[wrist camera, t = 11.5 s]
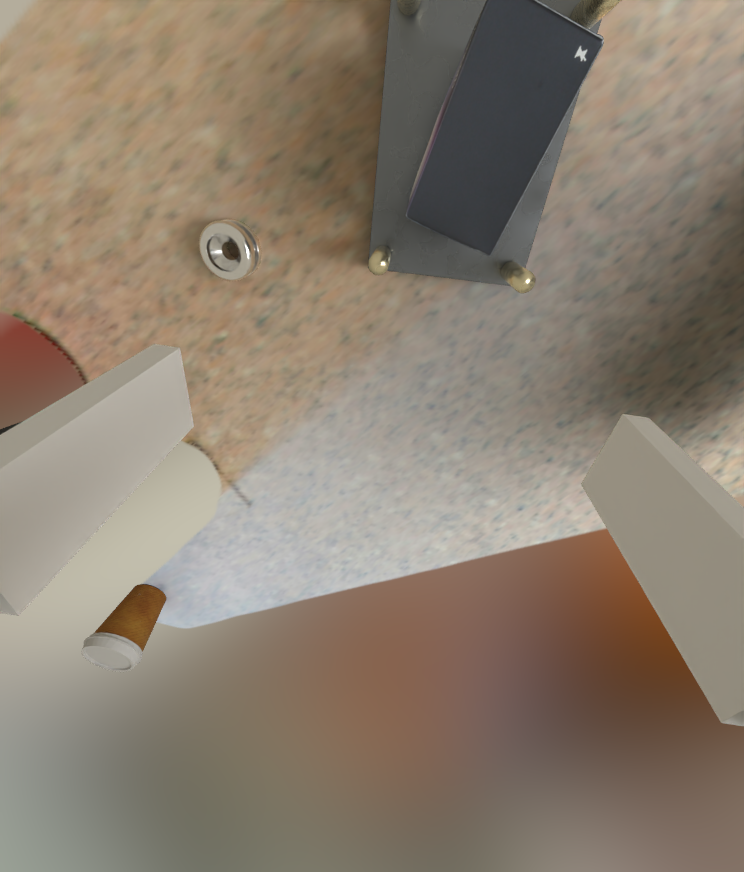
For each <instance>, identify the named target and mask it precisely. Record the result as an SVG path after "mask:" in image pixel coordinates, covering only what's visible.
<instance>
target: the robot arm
mask: <svg viewBox="0 0 744 872" xmlns="http://www.w3.org/2000/svg"><path fill="white" fill-rule="evenodd" d="M193 427H194V423H193V417H192V412H191V406H190V401H189V395H188V390H187V384H186V379H185V373H184V368H183V362H182V357H181V351H180V348H178V347H171V346H165V345H158V344H153V345H151V346H150V347H148V348H146V349H145V350H143V351H141V352H140V353H138V354H136V355H135V356H133V357H131V358H129V359H128V360H126V361H124V362H123V363H121V364H119V365H118V366H116V367H114V368H113V369H111V370H109V371H108V372H106V373H104V374H102V375H101V376H99V377H97V378H96V379H94V380H92V381H91V382H89V383H87V384H86V385H84V386H82V387H80V388H79V389H77V390H75V391H74V392H72V393H70V394H69V395H67V396H65V397H64V398H62V399H60V400H58V401H57V402H55V403H53V404H52V405H50V406H48V407H47V408H45V409H43V410H42V411H40V412H39V413H36V414H35V415H33V416H31V417H30V418H28V419H26V420H25V421H22V422H20V423H17V424H14V425H11V426H9V427H6V428H3V429H0V613H3V614H10V615H17V616H19V615H20V614H21V613H22V612H23V611H24V610H25V609H26V607H27V606H28V605H29V604H30V603H31V602H32V601H33V600H34V599H35V598H36V597H37V596H38V594H39V593H40V592H41V591H42V590H43V589H44V588H45V587H46V586H47V585H48V584H49V583H50V581H51V580H52V579H53V578H54V577H55V576H56V575H57V574H58V573H59V572H60V570H62V568H63V567H64V566H65V565H66V564H67V563H68V562H69V561H70V560H71V559H72V558H73V557H74V555H75V554H76V553H77V552H78V551H79V550H80V549H81V548H82V547H83V546H84V545H85V544H86V542H87V541H88V540H89V539H90V538H91V537H92V536H93V535H94V534H95V533H96V532H97V531H98V530H99V528H100V527H101V526H102V525H103V524H104V523H105V522H106V521H107V520H108V519H109V518H110V517H111V515H112V514H113V513H114V512H115V511H116V510H117V509H118V508H119V507H120V506H121V505H122V504H123V502H124V501H125V500H126V499H127V498H128V497H129V496H130V495H131V494H132V493H133V492H134V491H135V489H136V488H137V487H138V486H139V485H140V484H141V483H142V482H143V481H144V480H145V479H146V477H148V475H149V474H150V473H151V472H152V471H153V470H154V469H155V468H156V467H157V466H158V465H159V463H160V462H161V461H162V460H163V459H164V458H165V457H166V456H167V455H168V454H169V453H170V452H171V450H172V449H173V448H174V447H175V446H176V445H177V444H178V443H179V442H180V441H181V440H182V439H183V438H184V436H185V435H186V434H187V433H188V432H189V431H190V430H191V429H192V428H193ZM581 485H582V487H583V488H584V490H585V492H586V493H587V495H588V497H589V498H590V500H591V502H592V504H593V505H594V507H595V509H596V510H597V512H598V514H599V516H600V517H601V519H602V521H603V522H604V524H605V526H606V527H607V529H608V531H609V533H610V534H611V536H612V538H613V539H614V541H615V543H616V544H617V546H618V548H619V550H620V551H621V553H622V555H623V556H624V558H625V560H626V561H627V563H628V565H629V567H630V568H631V570H632V572H633V573H634V575H635V577H636V579H637V580H638V582H639V583H640V585H641V587H642V588H643V590H644V592H645V594H646V596H647V597H648V599H649V601H650V602H651V604H652V606H653V607H654V609H655V611H656V612H657V614H658V616H659V618H660V619H661V621H662V623H663V624H664V626H665V628H666V630H667V631H668V633H669V635H670V636H671V638H672V640H673V641H674V643H675V645H676V647H677V648H678V650H679V652H680V653H681V655H682V657H683V659H684V660H685V662H686V664H687V665H688V667H689V669H690V670H691V672H692V674H693V675H694V677H695V679H696V680H697V682H698V684H699V685H700V687H701V689H702V691H703V693H704V694H705V696H706V697H707V699H708V701H709V703H710V704H711V706H712V708H713V710H714V711H715V712H716V715H717V716H718V718H719V720H720V722H721V723H726V724H733V725H739V726H744V507H743V506H742V505H741V504H740V503H739V502H738V501H736V500H735V499H734V498H733V497H732V496H731V495H730V494H729V493H728V492H727V491H726V490H725V489H724V488H723V487H722V486H721V485H720V484H718V483H717V482H716V481H715V480H714V479H713V478H712V477H711V476H710V475H709V474H708V473H707V472H706V471H705V470H704V469H703V468H701V467H700V466H699V465H698V464H697V463H696V462H695V461H694V460H693V459H692V458H691V457H690V456H689V455H688V454H687V453H686V452H684V451H683V450H682V449H681V448H680V447H679V446H678V445H677V444H676V443H675V442H674V441H673V440H672V439H671V438H670V437H669V436H668V435H666V434H665V433H664V432H663V431H662V430H661V429H660V428H659V427H658V426H657V425H656V424H655V423H654V422H653V421H652V420H651V419H649V418H647V417H641V416H634V415H627V414H622V416H621V417H620V419H619V421H618V422H617V424H616V426H615V428H614V429H613V431H612V433H611V434H610V436H609V438H608V439H607V441H606V443H605V444H604V446H603V448H602V450H601V451H600V453H599V455H598V456H597V458H596V460H595V461H594V463H593V465H592V466H591V468H590V470H589V472H588V473H587V475H586V477H585V478H584V480H583V482H582V483H581Z"/></svg>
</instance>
